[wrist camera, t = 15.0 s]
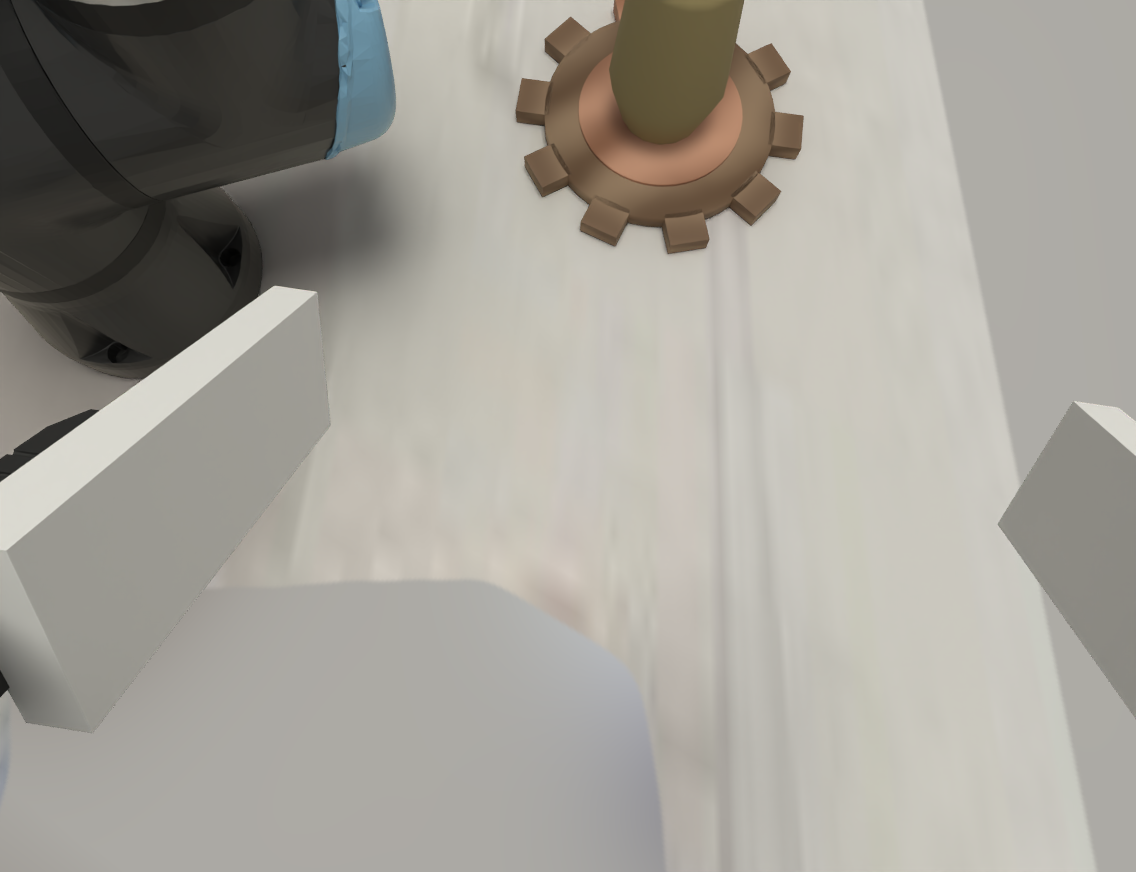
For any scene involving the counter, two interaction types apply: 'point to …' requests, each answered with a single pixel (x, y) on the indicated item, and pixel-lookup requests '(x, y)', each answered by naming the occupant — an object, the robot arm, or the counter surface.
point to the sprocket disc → (646, 170)
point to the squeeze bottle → (672, 64)
